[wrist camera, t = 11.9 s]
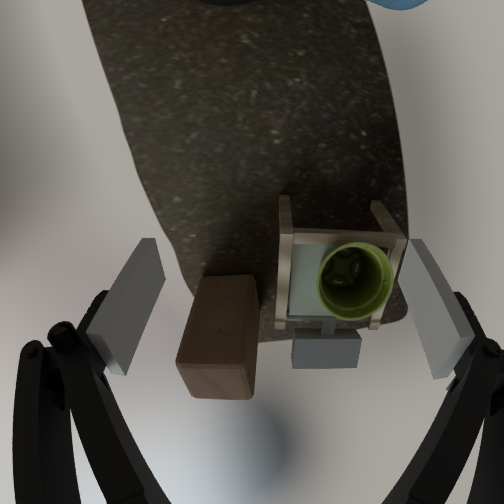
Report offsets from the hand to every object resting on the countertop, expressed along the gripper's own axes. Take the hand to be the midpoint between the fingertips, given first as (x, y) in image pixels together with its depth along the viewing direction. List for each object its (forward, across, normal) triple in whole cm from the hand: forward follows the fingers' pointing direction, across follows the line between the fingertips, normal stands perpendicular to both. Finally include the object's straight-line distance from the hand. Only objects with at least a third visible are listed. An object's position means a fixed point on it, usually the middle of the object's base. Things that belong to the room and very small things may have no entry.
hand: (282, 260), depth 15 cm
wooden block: (+30, -9, -30) cm, 43 cm away
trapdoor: (+22, +7, -23) cm, 32 cm away
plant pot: (+22, +8, -17) cm, 29 cm away
